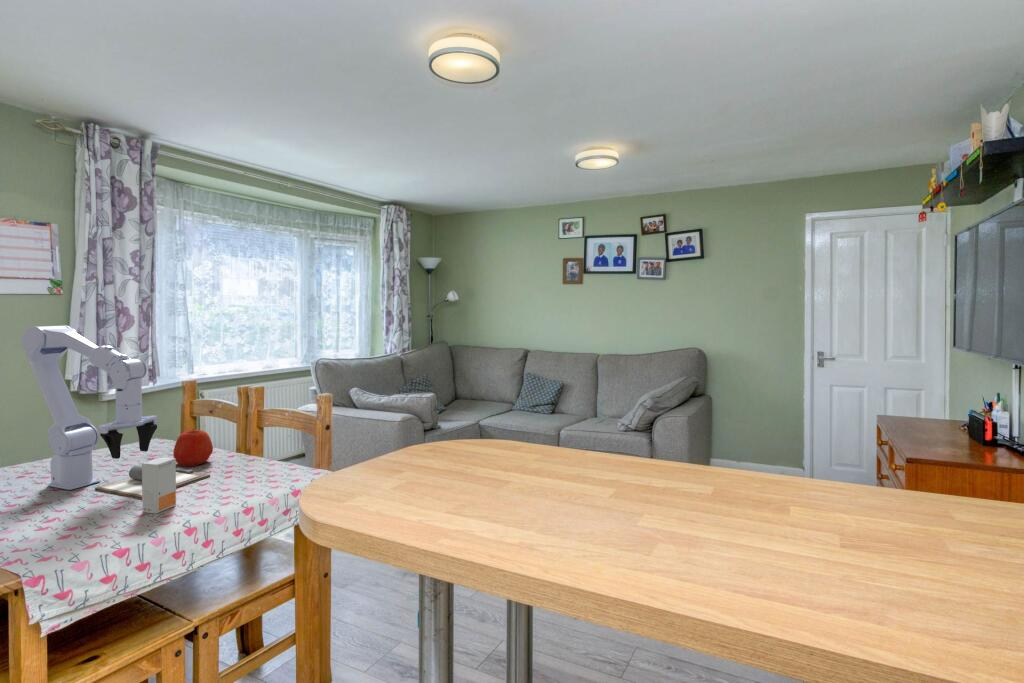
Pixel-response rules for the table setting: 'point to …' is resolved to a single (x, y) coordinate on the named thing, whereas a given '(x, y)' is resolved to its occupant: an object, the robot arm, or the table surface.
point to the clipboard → (135, 486)
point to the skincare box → (158, 485)
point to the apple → (192, 448)
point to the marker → (136, 473)
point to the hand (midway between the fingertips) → (130, 454)
